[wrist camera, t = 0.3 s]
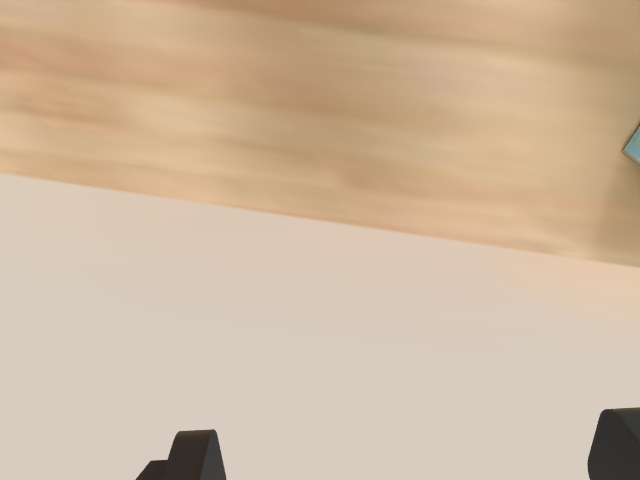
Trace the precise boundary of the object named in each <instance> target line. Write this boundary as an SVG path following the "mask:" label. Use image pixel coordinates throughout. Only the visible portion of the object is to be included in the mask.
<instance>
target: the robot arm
mask: <svg viewBox="0 0 640 480" xmlns="http://www.w3.org/2000/svg"><path fill="white" fill-rule="evenodd" d="M588 473H589V478H590V480H640V408H622V409H606V410H603V411H602V413H601V414H600V417H599V421H598V424H597V428H596V432H595V435H594V439H593V443H592V446H591V450H590V454H589V457H588ZM136 480H226V474H225V470H224V465H223V460H222V455H221V451H220V446H219V441H218V436H217V433H216V431H215V430H195V431H179V432H178V433H177V434H176V436H175V439H174V441H173V445H172V448H171V451H170V454H169V457H168V460H157V461H150V463H149V464H148V465H147V466H146V468H145V469H144V470H143V471H142V472H141V474H140V475H139V476H138V477H137V479H136Z"/></svg>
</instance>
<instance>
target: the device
mask: <svg viewBox="0 0 640 480" xmlns="http://www.w3.org/2000/svg"><path fill="white" fill-rule="evenodd" d="M622 153H624V154H625V155H626V156H628V157H629V158H631V159H632V160H633V161H635V162H636V163H638V164H639V165H640V126H639V128H638V129H637V131H636V132H635V134H634V135H633V137H632V138H631V140H630V141H629V143H628V144H627V146H626V147H625V149H624V150H623V152H622Z"/></svg>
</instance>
